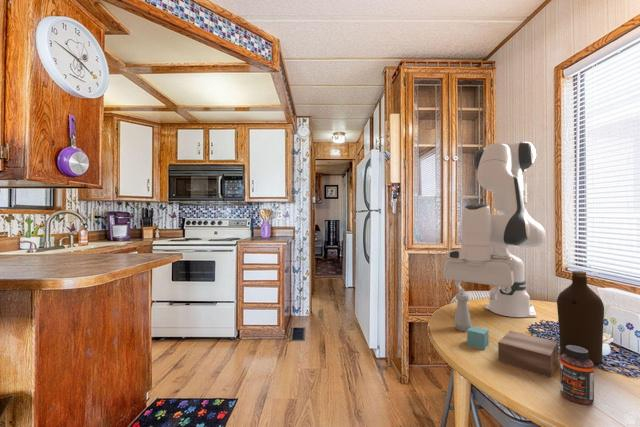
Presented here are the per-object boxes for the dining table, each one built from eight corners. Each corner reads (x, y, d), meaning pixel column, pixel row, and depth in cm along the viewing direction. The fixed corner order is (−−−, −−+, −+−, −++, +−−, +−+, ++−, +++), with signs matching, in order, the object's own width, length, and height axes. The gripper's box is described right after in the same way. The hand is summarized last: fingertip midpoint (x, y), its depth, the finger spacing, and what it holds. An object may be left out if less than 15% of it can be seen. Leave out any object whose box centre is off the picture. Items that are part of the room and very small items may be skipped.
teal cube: (471, 340, 102) (471, 325, 102) (488, 344, 99) (488, 329, 99) (467, 345, 98) (467, 330, 98) (484, 350, 95) (484, 334, 95)
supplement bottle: (558, 397, 70) (557, 348, 70) (562, 387, 74) (561, 340, 74) (593, 409, 66) (592, 356, 66) (595, 397, 70) (594, 348, 70)
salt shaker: (473, 332, 108) (472, 296, 109) (456, 331, 110) (455, 295, 110) (468, 326, 114) (468, 292, 114) (452, 325, 115) (452, 291, 115)
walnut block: (510, 349, 95) (509, 330, 95) (558, 362, 87) (558, 341, 87) (498, 363, 87) (498, 342, 87) (550, 379, 78) (550, 355, 78)
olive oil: (612, 368, 83) (610, 276, 83) (564, 361, 87) (562, 273, 87) (595, 352, 92) (594, 269, 93) (553, 346, 97) (551, 267, 97)
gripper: (516, 255, 94) (516, 300, 94) (448, 250, 108) (448, 290, 107) (512, 257, 89) (512, 305, 89) (441, 252, 103) (441, 293, 103)
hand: (476, 296), depth 98 cm, fingers open, 8 cm apart
